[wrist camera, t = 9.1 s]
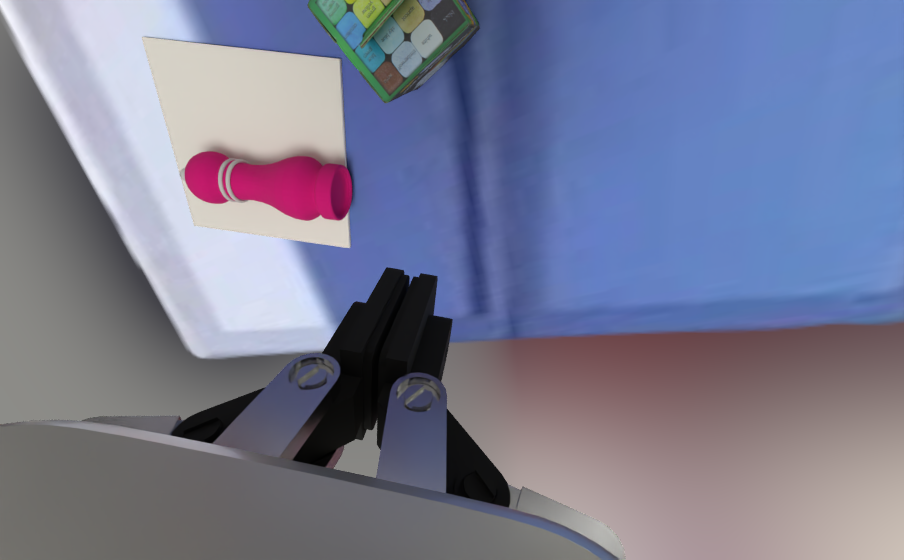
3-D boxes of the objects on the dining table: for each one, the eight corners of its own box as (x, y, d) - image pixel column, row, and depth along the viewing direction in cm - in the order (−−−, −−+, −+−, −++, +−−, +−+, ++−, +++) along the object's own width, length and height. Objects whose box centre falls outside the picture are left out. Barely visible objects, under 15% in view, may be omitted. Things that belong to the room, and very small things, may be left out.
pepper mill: (358, 194, 49) (213, 177, 51) (344, 146, 43) (180, 129, 45) (339, 237, 45) (182, 217, 47) (321, 191, 39) (143, 170, 41)
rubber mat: (145, 37, 42) (141, 37, 41) (341, 59, 40) (339, 59, 40) (196, 224, 53) (194, 225, 53) (351, 246, 52) (349, 248, 51)
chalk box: (422, -67, 34) (370, -133, 22) (483, 28, 37) (469, 17, 25) (353, 13, 38) (275, -4, 26) (414, 93, 41) (371, 113, 29)
